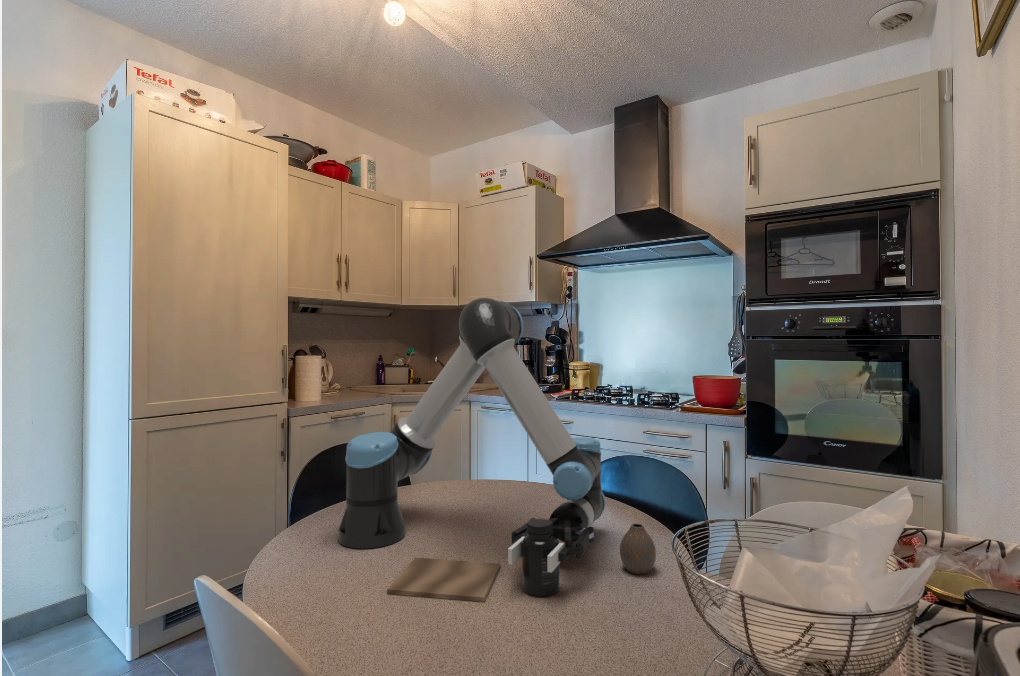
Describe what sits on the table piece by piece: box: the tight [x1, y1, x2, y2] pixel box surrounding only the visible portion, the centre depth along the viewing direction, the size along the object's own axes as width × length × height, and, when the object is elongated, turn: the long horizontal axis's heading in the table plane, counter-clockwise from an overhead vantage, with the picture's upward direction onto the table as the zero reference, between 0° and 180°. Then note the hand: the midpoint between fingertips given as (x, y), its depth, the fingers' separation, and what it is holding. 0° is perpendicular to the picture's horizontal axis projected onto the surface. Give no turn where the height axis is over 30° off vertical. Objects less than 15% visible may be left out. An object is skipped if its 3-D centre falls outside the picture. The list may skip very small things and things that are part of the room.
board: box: [386, 557, 502, 603], centre depth 96 cm, size 18×14×1 cm
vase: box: [619, 522, 657, 575], centre depth 100 cm, size 7×7×9 cm
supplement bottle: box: [521, 518, 561, 598], centre depth 93 cm, size 7×7×12 cm
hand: (529, 560), depth 88 cm, fingers closed on supplement bottle, 7 cm apart
